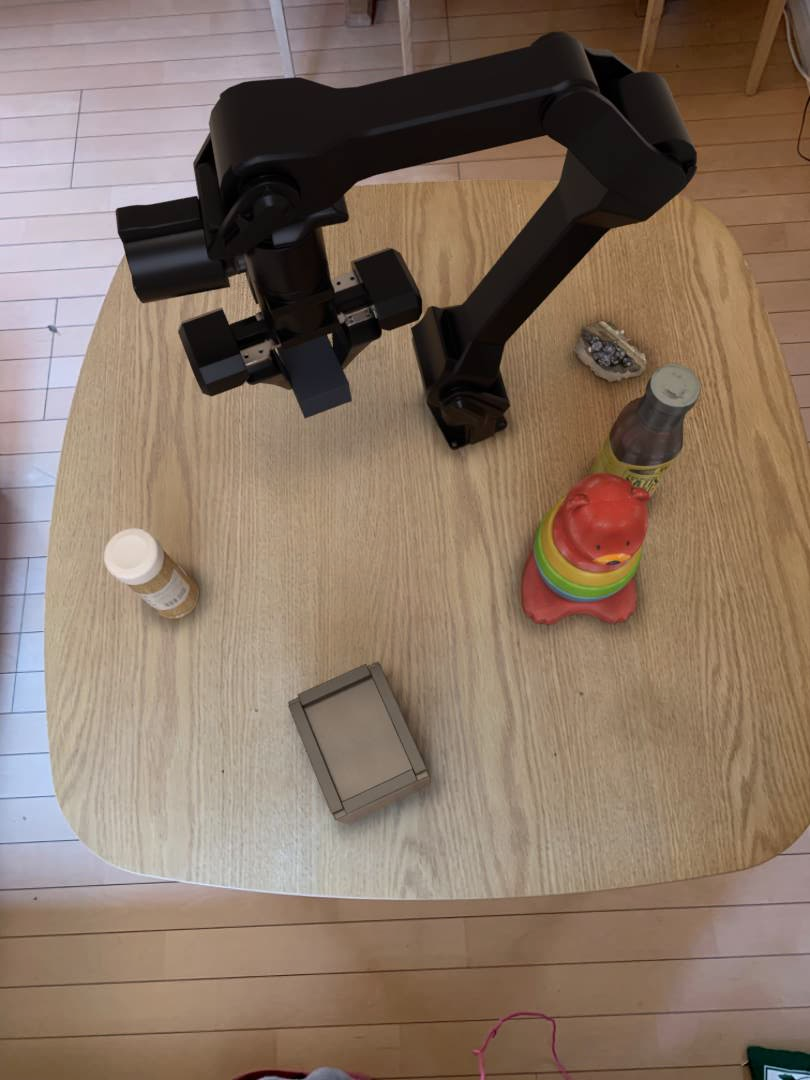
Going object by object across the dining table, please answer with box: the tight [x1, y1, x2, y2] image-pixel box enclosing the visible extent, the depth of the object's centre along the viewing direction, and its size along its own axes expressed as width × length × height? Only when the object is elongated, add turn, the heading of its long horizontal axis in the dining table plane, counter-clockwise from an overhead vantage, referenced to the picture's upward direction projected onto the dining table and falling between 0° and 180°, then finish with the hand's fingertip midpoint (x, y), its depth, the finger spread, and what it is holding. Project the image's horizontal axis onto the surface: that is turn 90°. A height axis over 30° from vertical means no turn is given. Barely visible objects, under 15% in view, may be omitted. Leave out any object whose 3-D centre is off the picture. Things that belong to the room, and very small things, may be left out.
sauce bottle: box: [588, 363, 702, 498], centre depth 75 cm, size 7×6×20 cm
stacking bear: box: [520, 473, 651, 626], centre depth 73 cm, size 11×10×18 cm
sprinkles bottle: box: [103, 527, 200, 620], centre depth 76 cm, size 5×5×13 cm
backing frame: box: [287, 661, 431, 825], centre depth 71 cm, size 10×8×11 cm
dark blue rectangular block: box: [276, 335, 353, 419], centre depth 75 cm, size 6×4×3 cm
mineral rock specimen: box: [571, 320, 648, 383], centre depth 89 cm, size 7×8×2 cm
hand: (314, 375), depth 75 cm, fingers closed on dark blue rectangular block, 4 cm apart
